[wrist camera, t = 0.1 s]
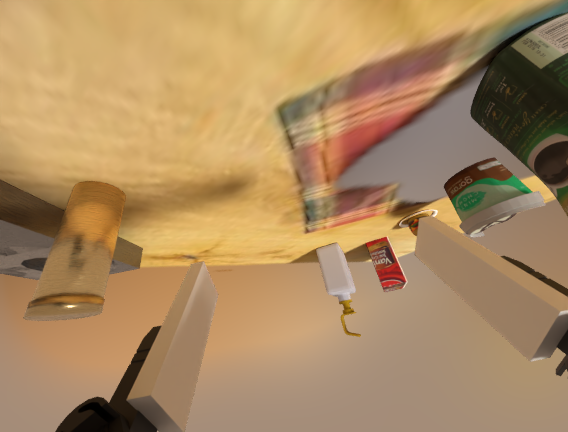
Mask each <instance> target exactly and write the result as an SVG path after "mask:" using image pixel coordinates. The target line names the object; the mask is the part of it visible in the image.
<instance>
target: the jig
mask: <svg viewBox="0 0 568 432" xmlns="http://www.w3.org/2000/svg"><path fill="white" fill-rule="evenodd" d="M64 213H65V211H64V210H61V209H59V208H57V207H55V206H53V205H51V204H49V203H47V202H45V201H43V200H41V199H38V198H36V197H34V196H32V195H30V194H28V193H26V192H24V191H22V190H20V189H18V188H16V187H13V186H11V185H9V184H7V183H5V182H3V181H1V180H0V274H6V275H12V276H18V277H23V278H29V279H35V280H39V279H40V277H41V274H42V271H43V269H44V266H45V263H46V261H47V258H48V255H49V253H50V250H51V247H52V245H53V242H54V239H55V237H56V234H57V231H58V229H59V226H60V223H61V221H62V218H63V215H64ZM142 250H143V248H141V247H139V246H137V245H134V244H132V243H130V242H128V241H126V240H124V239H122V238H120V237H118V236H117V240H116V245H115V250H114V254H113V259H112V263H111V268H110V272H109V274H114V273H119V272H124V271H129V270H134V269H139V268H140V263H141V256H142Z"/></svg>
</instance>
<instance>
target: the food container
mask: <svg viewBox="0 0 568 432" xmlns="http://www.w3.org/2000/svg"><path fill="white" fill-rule="evenodd" d="M444 188H445V191H446V193H447V194H448V196H449V198H450V200H451V202H452V204H453V206H454V208H455V210H456V212H457V214H458V215H459V217H460V219H461V221H462V223H461V224H460V226H459V227H460V228H461V229H462V230H463V231H464V232H465V233H466V234H469V235H470V236H471V237H480V236H484V234H483V232H482V231H484V230H485V229H487V228H489V227H491V226H492V225H495V224H498V223H502V222H504V221H507V220H509V219H510V218H512V217H513V216H514V215H515V214H517V213H519V212H522V211H525V210H528V209H532V208H535V207H540V206H544V205H546V204H545V203H544V202H543V201H544V199H543V197H542V195H541V194H540V192H539V191H537V192H532V191H531V190H530V189H529V188H528V187H526V186H525V185H524V184H523V183H522V182H521V181H520V180H519V179H518V178H517V177H515V176H514V175H513V174H512V173H511V172H510V171H508V169H506V168H505V167H504V166H503V165H502V164H501V163H500V162H499V161H498V160H497V159H496V158H490V159H486V160H483V161H480V162H477V163H475V164H473V165H471V166H469V167H467V168H465V169H463V170H461V171H460V172H458V173H456V174H455V175H454V176H452V177H451V178H450V179H449V180H448V181H447V182H446V183H445V185H444Z"/></svg>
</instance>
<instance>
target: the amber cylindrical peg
mask: <svg viewBox="0 0 568 432" xmlns="http://www.w3.org/2000/svg"><path fill="white" fill-rule="evenodd" d="M125 200H126V195H125V194H124V192H123V191H121V190H120V189H118V188H117V187H115V186H112V185H109V184H106V183H102V182H95V181H85V182H80V183H78V184H76V185H75V186H74V188H73V191H72V194H71V196H70V199H69V202H68V205H67V207H66V210H65V213H64V215H63V218H62V221H61V223H60V226H59V229H58V231H57V234H56V237H55V239H54V242H53V245H52V247H51V250H50V253H49V255H48V258H47V261H46V263H45V266H44V269H43V271H42V274H41V277H40V279H39V282H38V285H37V287H36V290H35V293H34V295H33V298H32V301H31V302H29V304H28V307H27V310H26V312H25V315H24V317H23V318H24V319H26V320H35V321H36V320H37V321H49V320H50V321H51V320H67V319H77V318H84V317H90V316H95V315H98V314H100V313H102V309H103V305H104V300H105V299H104V295H105V290H106V286H107V281H108V277H109V272H110V268H111V263H112V259H113V254H114V250H115V245H116V240H117V236H118V231H119V227H120V222H121V218H122V213H123V209H124V204H125Z"/></svg>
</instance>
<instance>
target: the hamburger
mask: <svg viewBox="0 0 568 432" xmlns="http://www.w3.org/2000/svg"><path fill="white" fill-rule="evenodd" d="M418 203H420V202H418ZM424 211H429V210H424ZM424 211H420V212H417V213H414V214H412V215H410V216H413V215H415V214H418V213H421V212H424ZM431 211H433V213H432V215H430V216H433V217H434V216H436V215H437V213H438V211H437V210H431ZM410 216H408V217H410ZM428 216H429V215H428V214H419V215H416V216H414V217H412V218H410V219H409V220H408V224H402V221H403V220H402V221H401V222H400V224H399V226H400V227H409V229H411V231H412V233H413V234H414V235H415V236H417V232H418V225H419V218H423V217H428ZM408 217H406V218H405V219H407V218H408ZM405 219H404V220H405Z"/></svg>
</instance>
